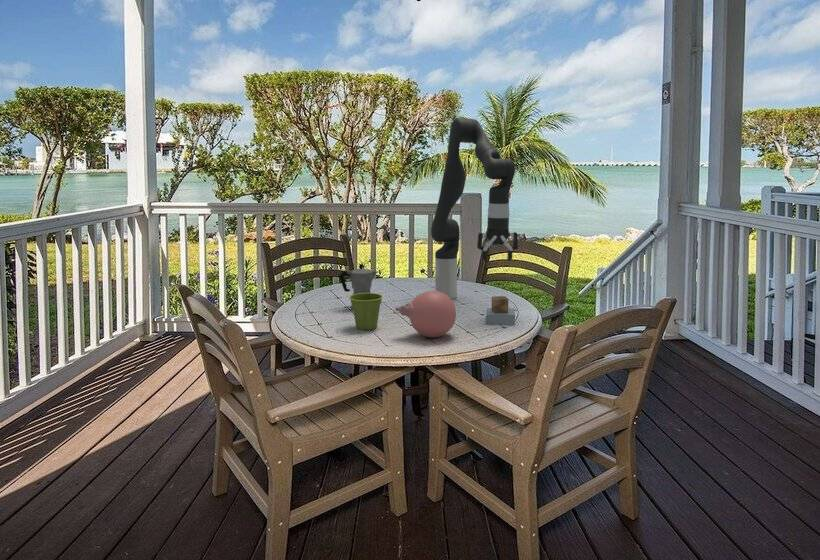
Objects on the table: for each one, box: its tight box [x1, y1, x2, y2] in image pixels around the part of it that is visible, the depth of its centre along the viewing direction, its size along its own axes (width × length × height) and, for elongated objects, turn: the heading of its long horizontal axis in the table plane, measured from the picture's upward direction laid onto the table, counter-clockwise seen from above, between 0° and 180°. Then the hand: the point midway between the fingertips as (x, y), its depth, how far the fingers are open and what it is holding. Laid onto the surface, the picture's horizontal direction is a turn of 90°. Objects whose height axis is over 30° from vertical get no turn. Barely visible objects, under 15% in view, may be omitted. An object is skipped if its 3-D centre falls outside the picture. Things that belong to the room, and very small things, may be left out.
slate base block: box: [485, 307, 516, 326], centre depth 214 cm, size 10×10×4 cm
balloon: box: [394, 290, 457, 338], centre depth 194 cm, size 15×20×15 cm
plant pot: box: [348, 292, 384, 331], centre depth 206 cm, size 12×12×11 cm
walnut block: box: [491, 295, 509, 313], centre depth 213 cm, size 5×5×5 cm
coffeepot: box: [338, 263, 379, 311], centre depth 232 cm, size 15×9×18 cm, turn 107°
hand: (496, 261), depth 213 cm, fingers open, 8 cm apart
